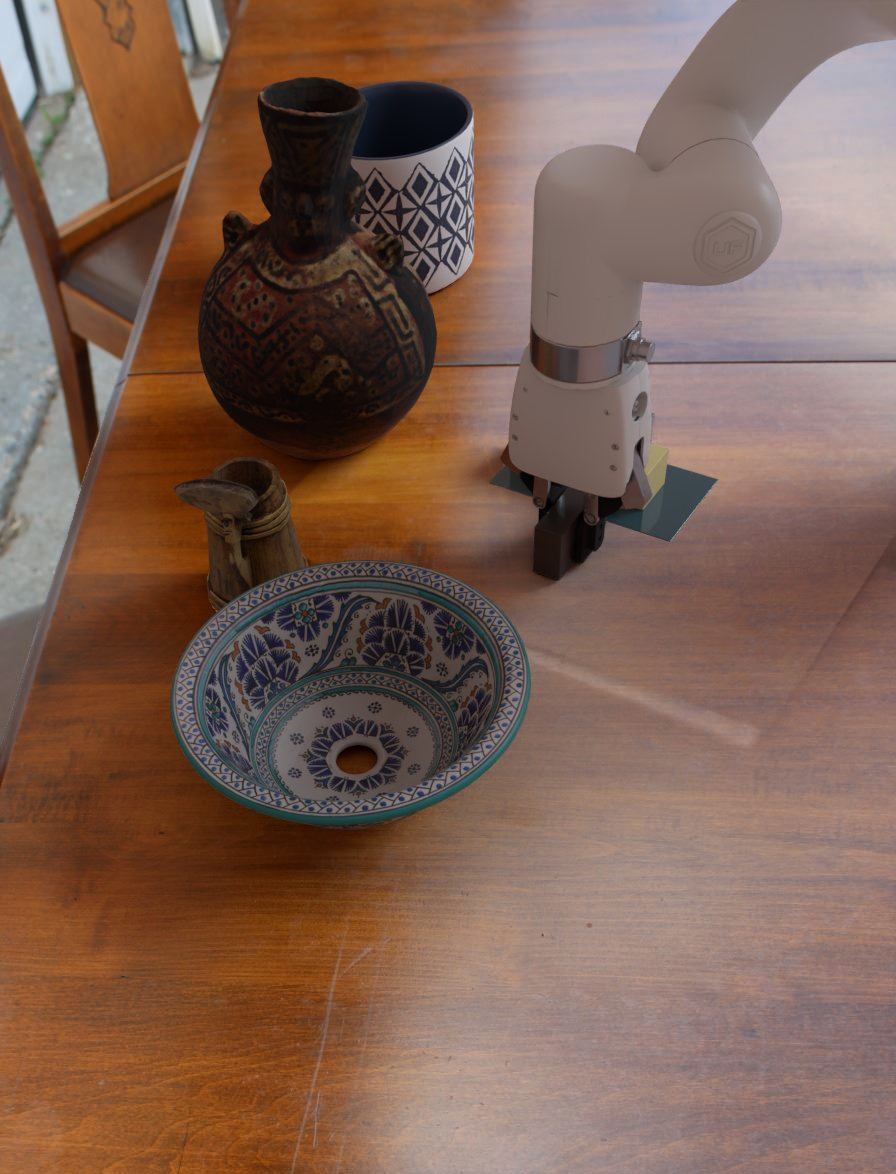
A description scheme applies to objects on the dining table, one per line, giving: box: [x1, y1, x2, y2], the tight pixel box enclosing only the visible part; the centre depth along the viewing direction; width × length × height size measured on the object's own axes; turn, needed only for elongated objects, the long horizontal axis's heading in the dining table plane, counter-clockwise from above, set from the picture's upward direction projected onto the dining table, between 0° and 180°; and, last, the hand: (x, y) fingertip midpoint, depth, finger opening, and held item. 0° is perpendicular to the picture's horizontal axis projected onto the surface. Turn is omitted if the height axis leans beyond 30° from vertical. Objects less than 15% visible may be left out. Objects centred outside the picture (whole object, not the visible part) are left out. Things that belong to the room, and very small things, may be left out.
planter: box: [351, 80, 475, 295], centre depth 134 cm, size 16×16×14 cm
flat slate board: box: [489, 463, 719, 543], centre depth 114 cm, size 17×9×1 cm, turn 55°
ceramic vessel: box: [197, 76, 438, 461], centre depth 111 cm, size 21×18×30 cm
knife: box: [532, 412, 656, 581], centre depth 109 cm, size 18×2×4 cm, turn 145°
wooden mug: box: [173, 456, 309, 611], centre depth 104 cm, size 9×14×18 cm, turn 169°
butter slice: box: [637, 442, 670, 510], centre depth 111 cm, size 2×4×4 cm, turn 145°
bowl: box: [169, 559, 532, 830], centre depth 95 cm, size 25×25×10 cm
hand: (569, 545), depth 109 cm, fingers closed on knife, 2 cm apart
